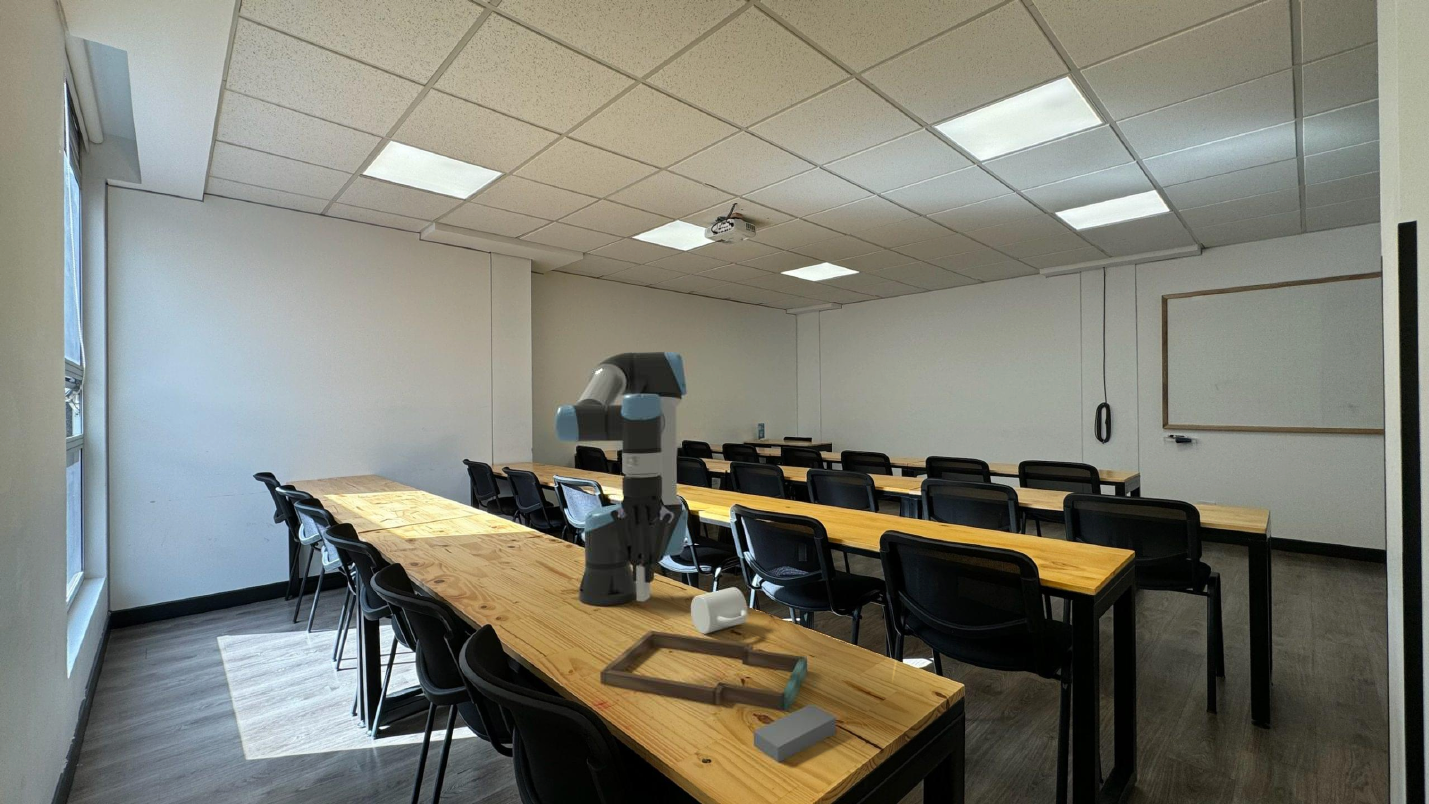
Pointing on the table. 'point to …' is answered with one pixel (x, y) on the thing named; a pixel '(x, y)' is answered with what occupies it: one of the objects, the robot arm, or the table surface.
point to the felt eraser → (794, 732)
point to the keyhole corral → (704, 693)
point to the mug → (718, 610)
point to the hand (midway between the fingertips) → (643, 598)
